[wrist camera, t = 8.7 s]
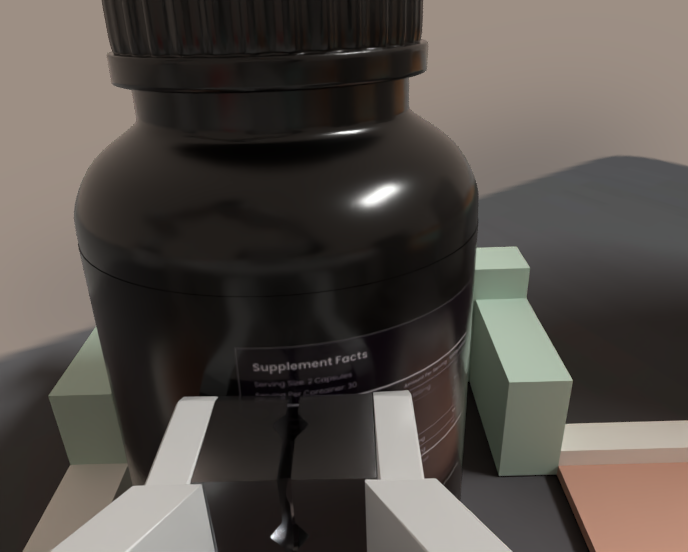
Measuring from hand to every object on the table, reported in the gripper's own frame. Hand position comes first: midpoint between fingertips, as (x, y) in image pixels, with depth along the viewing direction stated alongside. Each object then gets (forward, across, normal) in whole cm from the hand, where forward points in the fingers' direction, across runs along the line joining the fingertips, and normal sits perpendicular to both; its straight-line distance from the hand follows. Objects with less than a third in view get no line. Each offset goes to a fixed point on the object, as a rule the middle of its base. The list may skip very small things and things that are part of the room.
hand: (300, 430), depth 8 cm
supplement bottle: (+3, 0, +6) cm, 7 cm away
